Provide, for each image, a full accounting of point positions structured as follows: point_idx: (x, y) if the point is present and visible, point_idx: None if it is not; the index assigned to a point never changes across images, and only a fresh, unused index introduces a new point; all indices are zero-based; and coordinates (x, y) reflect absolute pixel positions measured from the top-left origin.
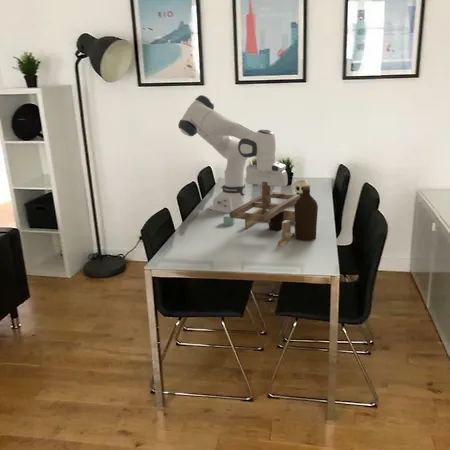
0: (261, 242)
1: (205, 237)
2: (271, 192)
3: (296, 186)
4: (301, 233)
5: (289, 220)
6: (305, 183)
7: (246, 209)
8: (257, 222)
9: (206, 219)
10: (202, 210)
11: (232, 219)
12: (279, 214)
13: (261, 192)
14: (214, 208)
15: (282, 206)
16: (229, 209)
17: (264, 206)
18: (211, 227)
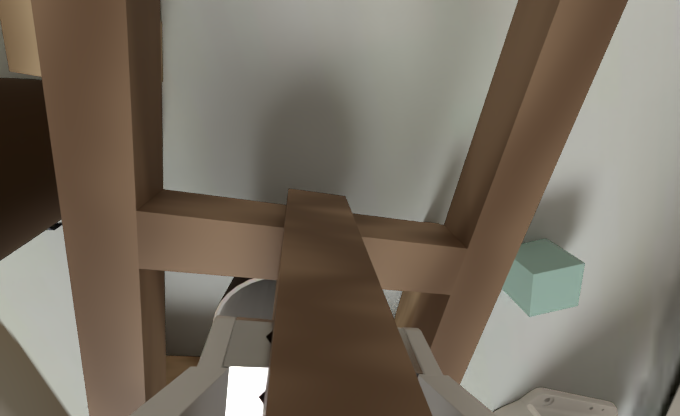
0: (296, 7)
1: (634, 34)
2: (203, 360)
3: None
4: (4, 79)
5: (22, 71)
6: None
7: (507, 68)
8: (397, 313)
9: (624, 298)
10: (638, 385)
11: (526, 265)
12: (235, 280)
13: (411, 345)
14: (598, 408)
15: (61, 181)
16: (540, 410)
17: (324, 203)
18: (602, 203)
